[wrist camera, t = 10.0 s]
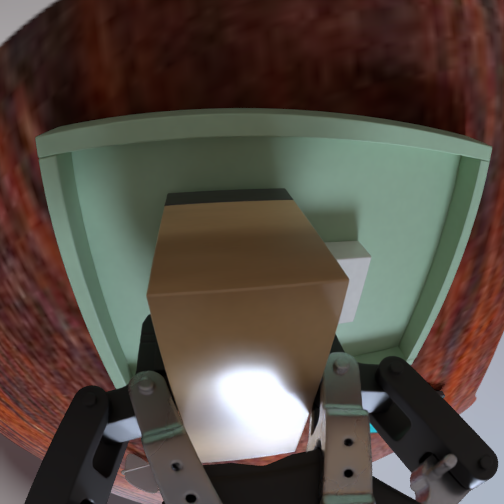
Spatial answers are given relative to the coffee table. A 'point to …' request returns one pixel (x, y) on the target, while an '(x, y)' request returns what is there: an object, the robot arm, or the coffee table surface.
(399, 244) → the tray
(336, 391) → the robot arm
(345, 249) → the chalk lump
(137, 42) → the coffee table surface
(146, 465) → the eyeglasses
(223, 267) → the eraser
